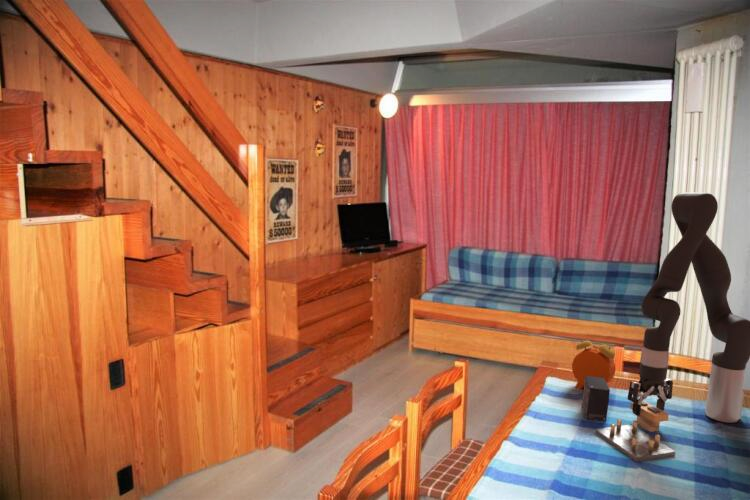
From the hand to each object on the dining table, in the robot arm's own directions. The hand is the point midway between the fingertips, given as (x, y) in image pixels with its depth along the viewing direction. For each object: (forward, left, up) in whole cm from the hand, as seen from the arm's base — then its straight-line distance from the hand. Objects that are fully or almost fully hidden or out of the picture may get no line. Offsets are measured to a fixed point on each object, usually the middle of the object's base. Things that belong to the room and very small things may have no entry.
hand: (647, 413), depth 180 cm
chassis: (+12, +8, -4) cm, 15 cm away
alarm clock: (-2, -29, -5) cm, 29 cm away
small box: (+10, -12, -5) cm, 16 cm away
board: (0, 0, 0) cm, 0 cm away
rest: (0, 0, -4) cm, 4 cm away
